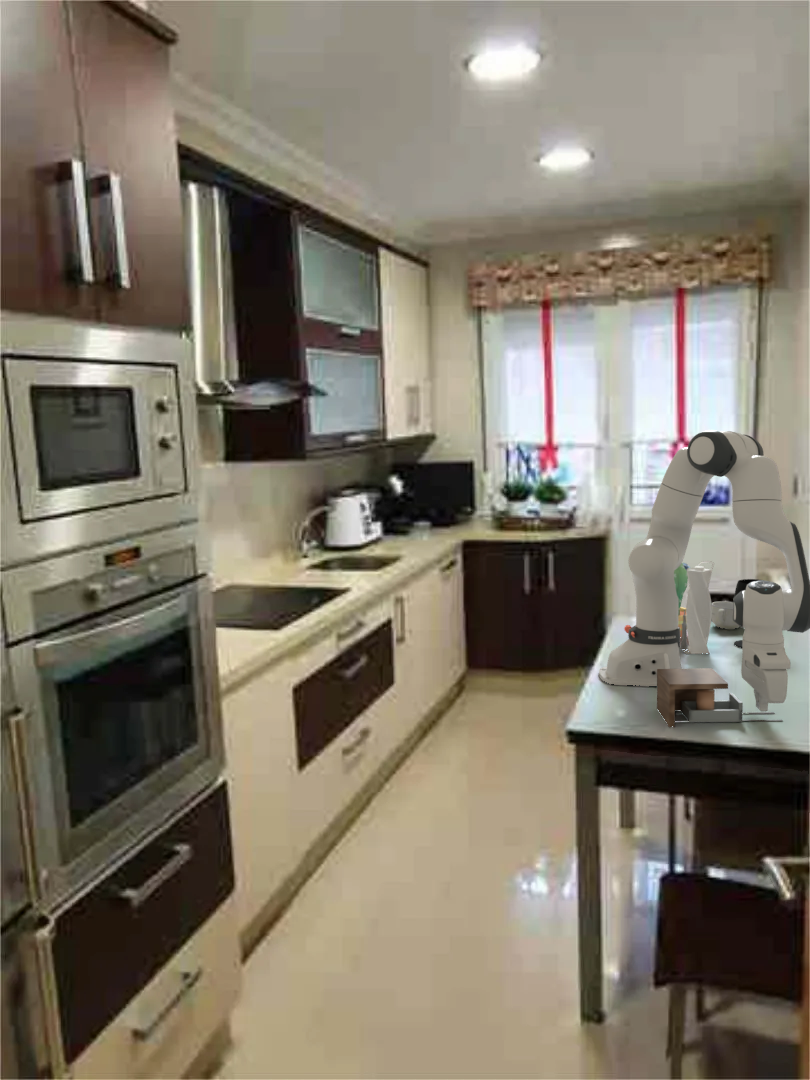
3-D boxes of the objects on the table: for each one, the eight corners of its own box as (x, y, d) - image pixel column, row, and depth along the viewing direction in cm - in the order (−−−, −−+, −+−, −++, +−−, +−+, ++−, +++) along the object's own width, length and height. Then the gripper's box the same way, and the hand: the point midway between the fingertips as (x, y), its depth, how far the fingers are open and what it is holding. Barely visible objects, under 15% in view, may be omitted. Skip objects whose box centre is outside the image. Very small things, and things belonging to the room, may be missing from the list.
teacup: (721, 622, 284) (722, 599, 283) (751, 627, 276) (752, 603, 275) (699, 629, 275) (699, 606, 274) (730, 634, 267) (730, 610, 266)
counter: (669, 727, 188) (669, 684, 187) (656, 709, 200) (657, 668, 199) (788, 726, 187) (789, 682, 185) (768, 708, 198) (769, 667, 197)
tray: (689, 722, 190) (689, 703, 190) (681, 711, 197) (681, 693, 197) (742, 721, 190) (742, 702, 189) (732, 711, 197) (732, 692, 196)
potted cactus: (697, 642, 260) (698, 564, 256) (646, 640, 264) (646, 563, 260) (694, 630, 274) (695, 556, 271) (646, 628, 278) (646, 555, 275)
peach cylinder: (698, 717, 192) (699, 692, 191) (694, 711, 196) (694, 687, 195) (716, 717, 191) (716, 692, 191) (711, 711, 195) (711, 687, 195)
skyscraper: (708, 648, 253) (709, 558, 249) (715, 656, 245) (717, 563, 241) (680, 649, 253) (681, 559, 250) (686, 656, 245) (687, 563, 242)
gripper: (734, 640, 201) (734, 695, 203) (763, 664, 181) (762, 724, 183) (761, 640, 200) (760, 695, 202) (793, 664, 180) (791, 724, 182)
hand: (761, 709), depth 192 cm, fingers closed
